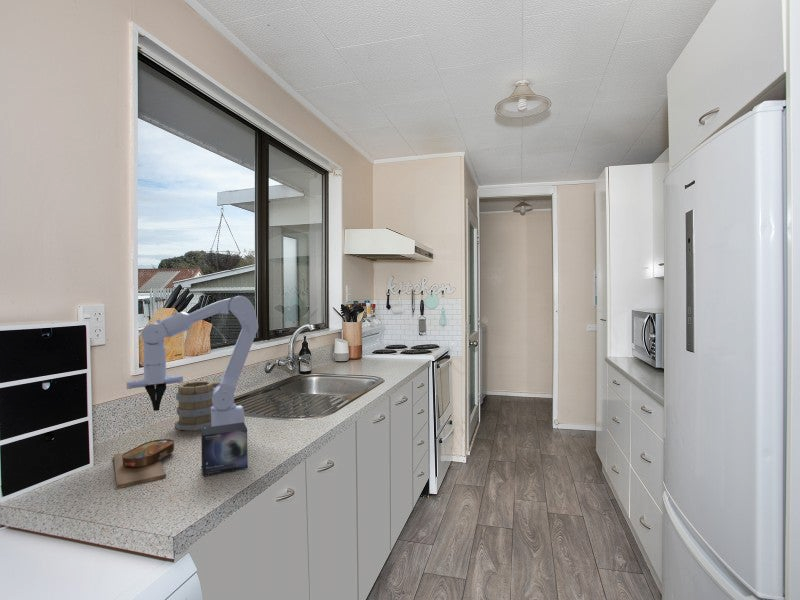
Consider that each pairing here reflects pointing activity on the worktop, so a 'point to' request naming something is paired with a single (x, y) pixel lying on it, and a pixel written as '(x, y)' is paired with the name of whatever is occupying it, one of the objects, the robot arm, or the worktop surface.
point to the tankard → (194, 405)
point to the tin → (148, 453)
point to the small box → (224, 448)
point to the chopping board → (136, 472)
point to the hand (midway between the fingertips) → (156, 410)
